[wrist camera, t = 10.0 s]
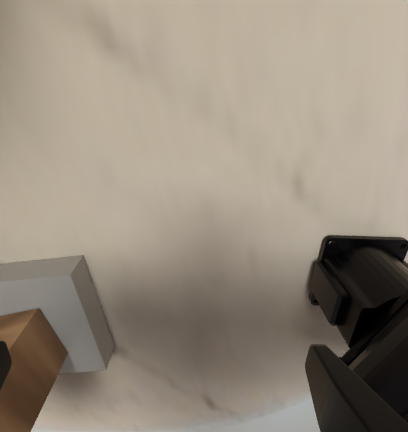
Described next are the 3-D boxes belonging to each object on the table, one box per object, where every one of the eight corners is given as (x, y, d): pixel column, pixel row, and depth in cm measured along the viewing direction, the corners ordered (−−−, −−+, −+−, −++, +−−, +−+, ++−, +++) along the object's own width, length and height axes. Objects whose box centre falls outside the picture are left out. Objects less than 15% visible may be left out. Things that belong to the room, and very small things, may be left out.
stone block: (85, 251, 23) (70, 274, 20) (115, 341, 27) (106, 369, 24) (-35, 264, 23) (-67, 288, 20) (13, 350, 27) (-8, 380, 25)
